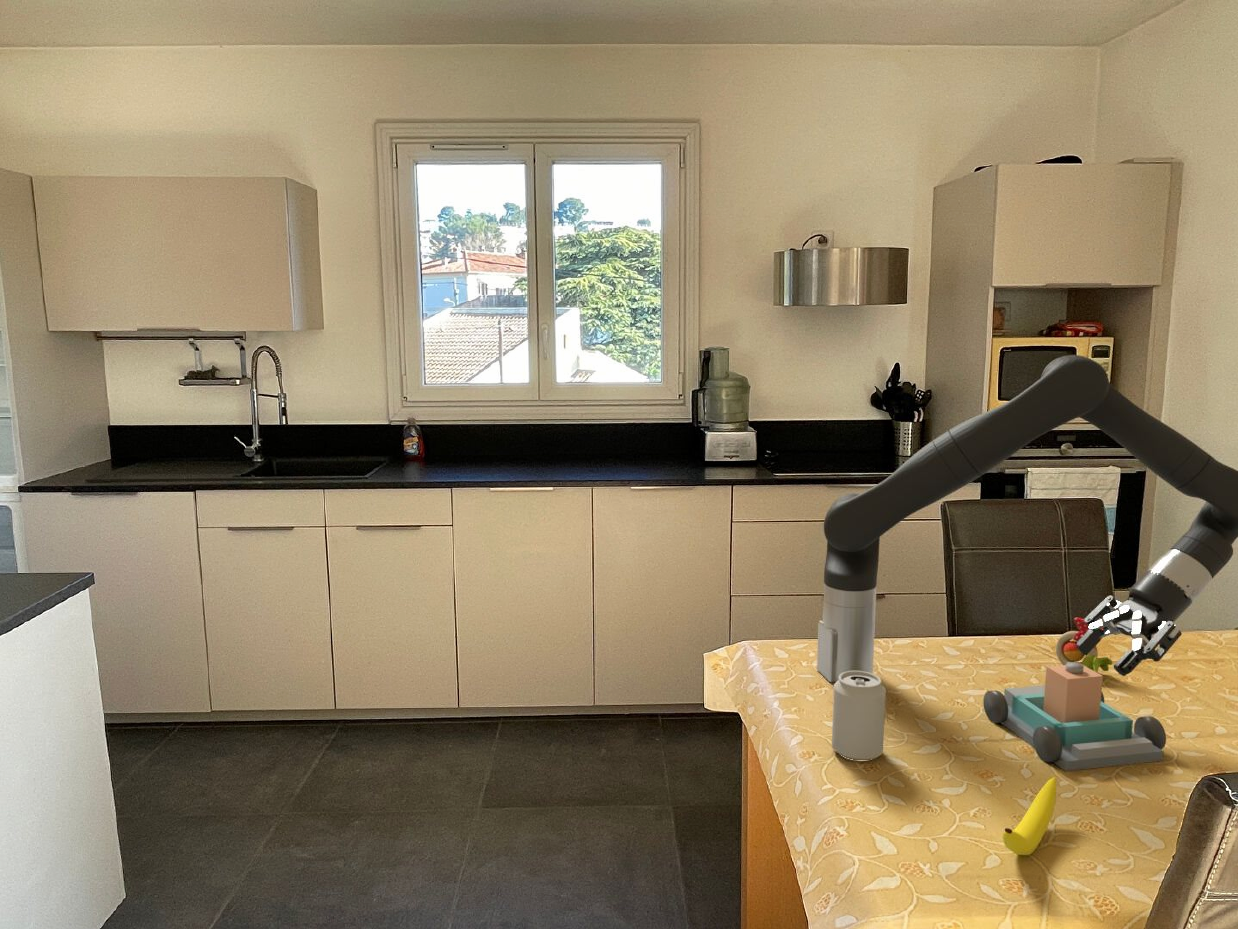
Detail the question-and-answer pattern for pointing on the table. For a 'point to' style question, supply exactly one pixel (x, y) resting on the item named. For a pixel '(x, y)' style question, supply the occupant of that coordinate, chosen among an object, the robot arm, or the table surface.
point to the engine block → (1072, 693)
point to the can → (858, 715)
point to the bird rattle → (1071, 654)
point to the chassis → (1076, 732)
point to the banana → (1032, 822)
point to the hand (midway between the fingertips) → (1098, 661)
